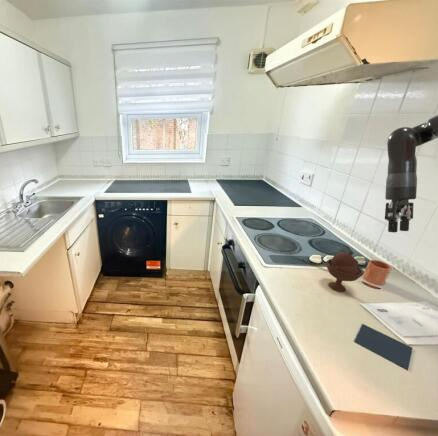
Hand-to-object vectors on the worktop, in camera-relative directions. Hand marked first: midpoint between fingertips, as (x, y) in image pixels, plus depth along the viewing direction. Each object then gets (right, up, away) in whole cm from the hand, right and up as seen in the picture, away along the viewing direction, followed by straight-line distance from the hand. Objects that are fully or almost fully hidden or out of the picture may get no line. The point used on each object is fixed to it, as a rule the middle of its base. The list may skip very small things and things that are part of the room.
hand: (398, 231), depth 85 cm
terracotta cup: (-3, -21, +8) cm, 22 cm away
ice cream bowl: (-18, -22, +6) cm, 29 cm away
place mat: (-23, -32, -17) cm, 43 cm away
